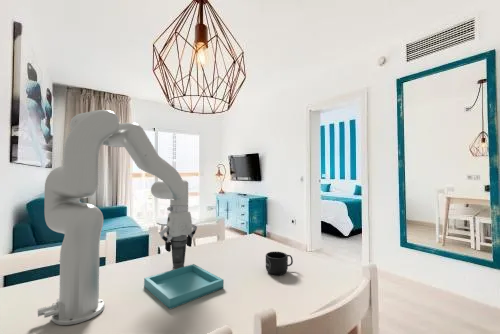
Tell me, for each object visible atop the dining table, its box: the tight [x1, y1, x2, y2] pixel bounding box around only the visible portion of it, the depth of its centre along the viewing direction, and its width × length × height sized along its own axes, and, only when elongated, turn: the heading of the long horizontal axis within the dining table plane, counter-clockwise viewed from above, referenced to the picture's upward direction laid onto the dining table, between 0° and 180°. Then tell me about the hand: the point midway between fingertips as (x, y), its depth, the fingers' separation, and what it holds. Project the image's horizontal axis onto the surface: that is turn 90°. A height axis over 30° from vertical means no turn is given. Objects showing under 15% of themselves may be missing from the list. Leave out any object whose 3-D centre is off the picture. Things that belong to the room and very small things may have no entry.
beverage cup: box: [170, 235, 188, 269], centre depth 109 cm, size 7×7×20 cm
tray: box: [143, 263, 225, 310], centre depth 90 cm, size 20×20×3 cm
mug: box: [265, 251, 294, 276], centre depth 104 cm, size 12×9×7 cm
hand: (178, 248), depth 109 cm, fingers open, 9 cm apart
